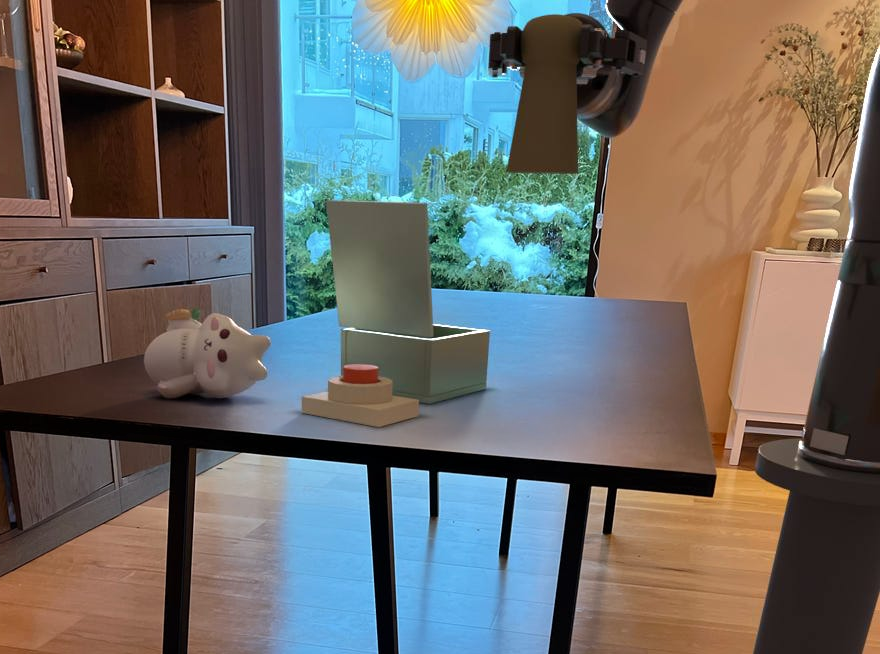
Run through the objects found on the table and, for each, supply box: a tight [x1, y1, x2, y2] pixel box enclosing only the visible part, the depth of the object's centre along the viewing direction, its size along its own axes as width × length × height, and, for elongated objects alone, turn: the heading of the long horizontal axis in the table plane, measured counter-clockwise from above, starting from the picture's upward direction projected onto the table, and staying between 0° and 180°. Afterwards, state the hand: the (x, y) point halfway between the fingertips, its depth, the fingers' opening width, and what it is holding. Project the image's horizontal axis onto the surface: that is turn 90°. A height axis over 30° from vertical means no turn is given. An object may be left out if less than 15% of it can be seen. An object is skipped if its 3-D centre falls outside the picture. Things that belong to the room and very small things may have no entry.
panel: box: [301, 375, 420, 428], centre depth 93 cm, size 10×7×4 cm
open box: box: [340, 323, 491, 405], centre depth 106 cm, size 13×13×7 cm
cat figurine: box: [143, 307, 272, 399], centre depth 98 cm, size 10×8×15 cm
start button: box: [343, 364, 378, 384], centre depth 92 cm, size 4×4×2 cm
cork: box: [506, 13, 583, 175], centre depth 73 cm, size 6×6×11 cm
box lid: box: [325, 199, 434, 337], centre depth 96 cm, size 13×13×1 cm
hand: (547, 41), depth 70 cm, fingers closed on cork, 5 cm apart
